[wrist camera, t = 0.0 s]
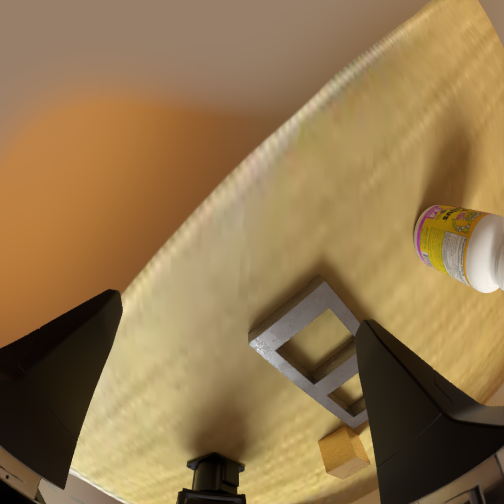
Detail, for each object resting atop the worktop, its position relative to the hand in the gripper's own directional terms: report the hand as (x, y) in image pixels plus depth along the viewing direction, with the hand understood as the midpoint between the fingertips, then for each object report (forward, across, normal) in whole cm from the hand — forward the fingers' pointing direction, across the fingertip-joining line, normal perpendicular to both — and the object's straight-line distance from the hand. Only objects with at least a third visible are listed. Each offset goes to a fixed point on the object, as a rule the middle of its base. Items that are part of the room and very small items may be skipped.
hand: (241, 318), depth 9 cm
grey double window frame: (+12, -12, +16) cm, 23 cm away
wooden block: (+8, -17, +30) cm, 35 cm away
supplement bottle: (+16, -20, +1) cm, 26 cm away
